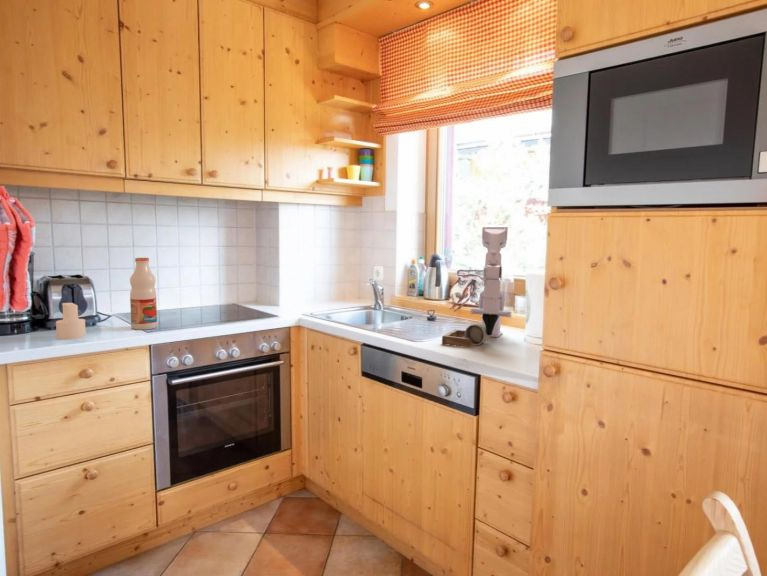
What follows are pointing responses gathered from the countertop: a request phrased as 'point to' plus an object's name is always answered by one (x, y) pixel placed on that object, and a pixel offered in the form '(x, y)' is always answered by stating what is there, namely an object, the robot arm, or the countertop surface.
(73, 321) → the base with upright slab
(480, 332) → the ceramic mug
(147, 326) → the fruit juice
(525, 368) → the countertop surface
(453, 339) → the brown wooden tray
